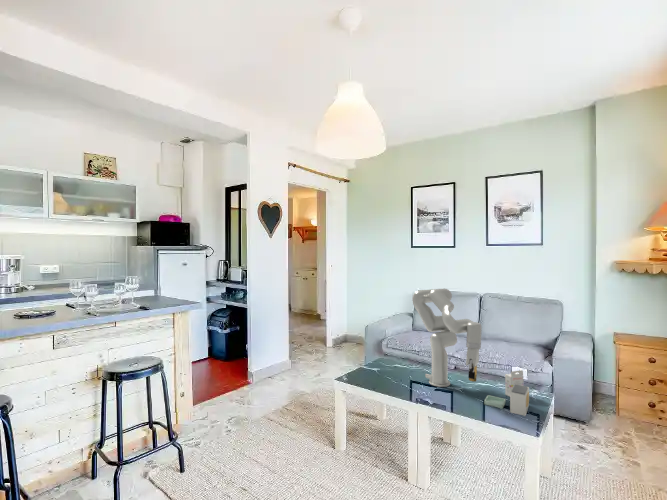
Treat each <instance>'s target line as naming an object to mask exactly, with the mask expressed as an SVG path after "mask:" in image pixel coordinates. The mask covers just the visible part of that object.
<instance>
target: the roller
mask: <svg viewBox="0 0 667 500" xmlns="http://www.w3.org/2000/svg"><path fill="white" fill-rule="evenodd" d="M472 366H474V365H472ZM472 368H473V367H472ZM474 372H475V379H470V378H468V381H469V382H477V379H478V377H477V375H478V365H477V366H475V369H474Z"/></svg>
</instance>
